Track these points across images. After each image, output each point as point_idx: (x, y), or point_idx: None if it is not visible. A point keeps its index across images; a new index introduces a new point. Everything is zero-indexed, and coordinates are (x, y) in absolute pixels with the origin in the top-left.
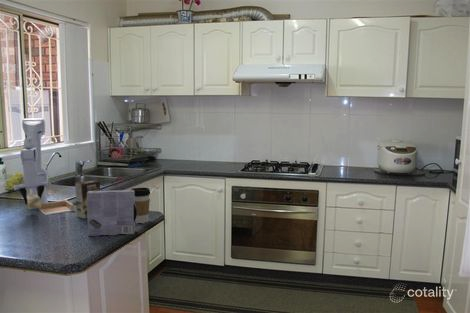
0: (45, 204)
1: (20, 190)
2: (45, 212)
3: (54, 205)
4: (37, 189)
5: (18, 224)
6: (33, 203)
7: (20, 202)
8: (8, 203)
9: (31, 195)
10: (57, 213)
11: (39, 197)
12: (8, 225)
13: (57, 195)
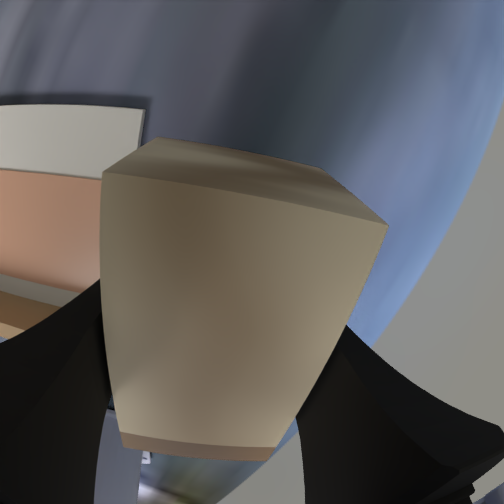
0: None
1: (468, 484)
2: None
3: (17, 306)
4: (84, 492)
5: (445, 43)
6: (274, 172)
7: (180, 475)
8: (225, 483)
9: (187, 444)
10: (41, 104)
11: (106, 248)
12: (487, 92)
13: None
